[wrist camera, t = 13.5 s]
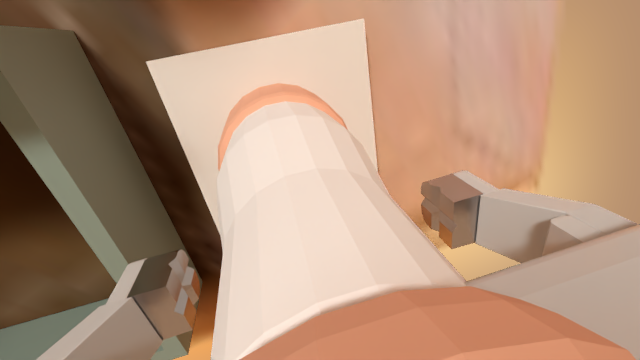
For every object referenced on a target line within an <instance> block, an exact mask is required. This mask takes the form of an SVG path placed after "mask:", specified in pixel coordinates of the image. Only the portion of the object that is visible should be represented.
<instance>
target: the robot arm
mask: <svg viewBox="0 0 640 360" xmlns="http://www.w3.org/2000/svg"><path fill="white" fill-rule="evenodd" d="M421 194H422V195H423V196H424V197H425V199H424V200H423V202H422V204H421V208H422V214H423V217H424V220H425V222H426V223H427V225H428V226H429V227H430V228H431V229H433V230H436V231H439V237H440V238H441V239H442V240H443V241H444V242H445V243H446V244H447V245H448V246H449V247H450V248H451V249H453V248H457V247H460V246H464V245H467V244H471V243H475V242H476V244H478V245H480V246H483V247H485V248H487V249H490V250H492V251H494V252H497V253H499V254H501V255H503V256H506V257H508V258H510V259H513V260H515V261H517V262H520V263H521V264H518V265H515V266H512V267H509V268H506V269H503V270H500V271H497V272H494V273H491V274H488V275H485V276H482V277H479V278H476V279H473V280H470V281H466V282H464V283H465V285H466V286H472V287H475V288H479V289H483V290H487V291H491V292H494V293H498V294H502V295H506V296H510V297H513V298H517V299H521V300H523V301H526V302H529V303H531V304H534V305H537V306H539V307H542V308H545V309H547V310H550V311H553V312H555V313H558V314H560V315H562V316H564V317H566V318H568V319H570V320H572V321H573V322H575V323H577V324H579V325H581V326H583V327H585V328H587V329H589V330H591V331H593V332H594V333H596V334H598V335H600V336H602V337H604V338H606V339H608V340H610V341H612V342H613V343H615V344H617V345H619V346H621V347H623V348H625V349H627V350H628V351H629V352H630V353H631V354H632V355H633V356H634V358H635V359H636V360H640V224H639V225H638V224H636V223H634V222H632V221H630V220H628V219H625V218H623V217H621V216H619V215H617V214H615V213H613V212H611V211H608V210H606V209H604V208H602V207H600V206H598V205H595V204H590V203H584V202H579V201H573V200H567V199H561V198H555V197H549V196H544V195H538V194H533V193H527V192H521V191H515V190H510V189H504V188H503V189H500V190H499V189H497V188H496V187H494V186H492V185H491V184H489V183H487V182H485V181H484V180H482V179H480V178H478V177H477V176H475V175H473V174H471V173H470V172H468V171H464V170H462V171H458V172H455V173H452V174H449V175H446V176H443V177H440V178H436V179H433V180H430V181H426V182H423V183H422V186H421ZM188 261H189V258H188V256H187V255H186V253H185V251H183V250H181V249H180V250H177V251H173V252H169V253H165V254H161V255H157V256H153V257H149V258H145V259H142V260H138V261H135V262H132V263H130V264H128V265H127V267H126V269H125V270H124V272H123V274H122V276H121V278H120V279H119V281H118V283H117V285H116V287H115V288H114V290H113V292H112V294H111V296H110V297H109V299H108V301H107V303H106V305H102V306H99V307H98V308H97V309H96V310H95V311H93V312H92V313H91V314H90V315H89V316H87V317H86V318H85V319H84V320H83V321H82V322H80V323H79V324H78V325H77V326H76V327H74V328H73V329H72V330H71V331H70V332H68V333H67V334H66V335H65V336H64V337H62V338H61V339H60V340H59V341H58V342H56V343H55V344H54V345H53V346H52V347H50V348H49V349H48V350H47V351H46V352H45V353H43V354H42V355H41V356H40V357H39V358H37V359H36V360H150V359H151V358H152V357H153V355H154V354H155V352H156V351H157V349H158V348H159V347H160V345H161V344H162V342H163V341H162V340H165V339H168V338H171V337H174V336H177V335H179V334H182V333H185V332H188V331H191V330H193V326H194V321H195V316H196V309H195V307H194V304H195V303H196V302H197V300H198V299H199V295H200V283H199V279H198V276H197V273H196V271H195V269H193V268H191V267H189V266H187V265H188Z"/></svg>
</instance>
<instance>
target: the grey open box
mask: <svg viewBox="0 0 640 360" xmlns="http://www.w3.org/2000/svg"><path fill="white" fill-rule="evenodd" d="M0 121H1V123H2V124H3V125H4V127H5V128H6V130H7V131H8V132H9V134H10V135H11V137H12V138H13V139H14V141H15V142H16V144H17V145H18V146H19V148H20V149H21V151H22V152H23V153H24V155H25V156H26V158H27V159H28V160H29V162H30V163H31V165H32V166H33V167H34V169H35V170H36V172H37V173H38V174H39V176H40V177H41V179H42V180H43V181H44V183H45V184H46V186H47V187H48V188H49V190H50V191H51V192H52V194H53V195H54V197H55V198H56V199H57V201H58V202H59V204H60V205H61V206H62V208H63V209H64V211H65V212H66V213H67V215H68V216H69V218H70V219H71V220H72V222H73V223H74V225H75V226H76V227H77V229H78V230H79V232H80V233H81V234H82V236H83V237H84V239H85V240H86V241H87V243H88V244H89V246H90V247H91V248H92V250H93V251H94V253H95V254H96V255H97V257H98V258H99V259H100V261H101V262H102V264H103V265H104V266H105V268H106V269H107V271H108V272H109V273H110V275H111V276H112V278H113V279H114V280H115V282H116V283H118V281H119V279H120V278H121V276H122V274H123V272H124V270H125V269H126V267H127V265H128V264H130V263H132V262H135V261H138V260H142V259H145V258H149V257H153V256H157V255H161V254H165V253H169V252H173V251H177V250H180V249H181V250H183V251H185V253H186V255H187V256H188V258H189V261H188V265H187V266H189V267H191V268H193V269H195V271H196V273H197V276H198V279H199V283H200V293H201V288H202V283H203V282H202V280H201V278H200V276H199V274H198V272H197V270H196V268H195V266H194V264H193V262H192V260H191V258H190V257H189V255H188V253H187V251H186V249H185V247H184V245H183V243H182V241H181V239H180V237H179V235H178V233H177V231H176V229H175V227H174V226H173V224H172V222H171V220H170V218H169V216H168V214H167V212H166V210H165V208H164V206H163V204H162V202H161V200H160V198H159V196H158V195H157V193H156V191H155V189H154V187H153V185H152V183H151V181H150V179H149V177H148V175H147V173H146V171H145V169H144V167H143V165H142V164H141V162H140V160H139V158H138V156H137V154H136V152H135V150H134V148H133V146H132V144H131V142H130V140H129V138H128V136H127V134H126V133H125V131H124V129H123V127H122V125H121V123H120V121H119V119H118V117H117V115H116V113H115V111H114V109H113V107H112V105H111V103H110V102H109V100H108V98H107V96H106V94H105V92H104V90H103V88H102V86H101V84H100V82H99V80H98V78H97V76H96V74H95V72H94V71H93V69H92V67H91V65H90V63H89V61H88V59H87V57H86V55H85V53H84V51H83V49H82V47H81V45H80V43H79V41H78V40H77V38H76V36H75V34H74V32H73V31H70V30H56V29H43V28H29V27H15V26H1V25H0ZM199 297H200V295H199ZM107 301H108V299H105V300H102V301H98V302H95V303H91V304H88V305H84V306H81V307H77V308H74V309H70V310H67V311H63V312H60V313H56V314H53V315H49V316H46V317H42V318H39V319H35V320H32V321H28V322H25V323H21V324H18V325H14V326H11V327H7V328H4V329H0V360H36V359H37V358H39V357H40V356H41V355H42V354H43V353H45V352H46V351H47V350H48V349H49V348H50V347H52V346H53V345H54V344H55V343H56V342H58V341H59V340H60V339H61V338H62V337H64V336H65V335H66V334H67V333H68V332H70V331H71V330H72V329H73V328H74V327H76V326H77V325H78V324H79V323H80V322H82V321H83V320H84V319H85V318H86V317H87V316H89V315H90V314H91V313H92V312H93V311H95V310H96V309H97V308H98V307H99V306H102V305H106V303H107ZM198 302H199V299H198V300H197V302H196V303H195V304H194V307H195V309H196V312H197V307H198ZM195 317H196V316H195ZM194 322H195V321H194ZM193 327H194V326H193ZM192 332H193V330H191V331H188V332H185V333H182V334H179V335H177V336H174V337H171V338H168V339H165V340H162V341H163V342H162V344H161V345H160V347H159V348H158V349H157V351H156V352H155V354H154V355H153V357H152V358H151V359H150V360H172V359H175V358H178V357H182V356H185V355H188V352H189V347H190V342H191V337H192Z"/></svg>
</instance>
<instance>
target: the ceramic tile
mask: <svg viewBox="0 0 640 360" xmlns="http://www.w3.org/2000/svg"><path fill="white" fill-rule="evenodd" d="M146 63H147V66H148V68H149V70H150V73H151V75H152V77H153V80H154V82H155V84H156V87H157V89H158V91H159V94H160V96H161V98H162V101H163V103H164V105H165V108H166V110H167V112H168V115H169V117H170V119H171V122H172V124H173V126H174V129H175V131H176V133H177V136H178V138H179V140H180V143H181V145H182V147H183V150H184V152H185V154H186V157H187V159H188V161H189V164H190V166H191V168H192V170H193V173H194V175H195V177H196V180H197V182H198V184H199V187H200V189H201V191H202V194H203V196H204V198H205V201H206V203H207V205H208V208H209V210H210V212H211V215H212V217H213V219H214V222H215V224H216V226H217V229H218V231H219V233H220V225H219V217H218V209H217V177H218V174H219V170H218V145H219V142H220V139H221V135H222V132H223V129H224V126H225V124H226V121H227V118H228V115H229V113H230V111H231V110H232V109H233V107H234V106H235V105H236V104H237V103H238V102H239V100H240V99H241V98H242V97H243V96H245V95H247V94H248V93H250V92H252V91H253V90H255V89H257V88H258V87H262V86H267V85H272V84H276V83H282V84H290V85H298V86H300V87H302V88H304V89H306V90H308V91H310V92H312V93H314V94H316V95H317V96H318V97H320V98H321V99H322V100H323V101H325V102H326V103H327V104H328V105H329V106H330V107H331V108H332V109H333V110H334V111H335V112H336V113H337V114H338V115H339V116H340V117H341V118H342V119H343V121H344V123H345V125H346V127H347V129H348V131H349V132H350V133H351V134H352V135H353V136H354V137H355V138H356V139H357V140H358V141H359V142H360V143H361V144H362V145H363V147H364V149H365V151H366V152H367V154H368V156H369V158H370V160H371V162H372V163H373V165H374V167H375V169H376V171H377V172H378V168H377V157H376V146H375V135H374V124H373V113H372V101H371V90H370V79H369V68H368V57H367V46H366V35H365V24H364V19H359V20H354V21H349V22H344V23H339V24H334V25H328V26H323V27H318V28H313V29H308V30H303V31H298V32H293V33H288V34H283V35H278V36H273V37H268V38H263V39H258V40H253V41H248V42H243V43H238V44H233V45H228V46H223V47H218V48H213V49H207V50H202V51H197V52H192V53H187V54H182V55H177V56H172V57H167V58H162V59H157V60H152V61H147V62H146ZM220 236H221V234H220Z"/></svg>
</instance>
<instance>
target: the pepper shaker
mask: <svg viewBox="0 0 640 360" xmlns="http://www.w3.org/2000/svg"><path fill="white" fill-rule="evenodd" d="M218 170H219V174H218V177H217V209H218V217H219V225H220V234H221V242H222V250H223V258H222V266H221V275H220V283H219V292H218V300H217V309H216V317H215V326H214V334H213V343H212V352H211V360H636V359H635V358H634V356H633V355H632V354H631V353H630V352H629V351H628V350H627V349H625V348H623V347H621V346H619V345H617V344H615V343H613V342H612V341H610V340H608V339H606V338H604V337H602V336H600V335H598V334H596V333H594V332H593V331H591V330H589V329H587V328H585V327H583V326H581V325H579V324H577V323H575V322H573V321H572V320H570V319H568V318H566V317H564V316H562V315H560V314H558V313H555V312H553V311H550V310H547V309H545V308H542V307H539V306H537V305H534V304H531V303H529V302H526V301H523V300H521V299H517V298H513V297H510V296H506V295H502V294H498V293H494V292H491V291H487V290H483V289H479V288H475V287H472V286H466V285H465V283H464V282H466V280H465V279H464V278H463V277H462V276H461V274H460V273H459V272H458V271H457V270H456V269H455V268H454V267H453V265H452V264H451V263H450V262H449V261H448V260H447V259H446V258H445V257H444V255H443V254H442V253H441V252H440V251H439V250H438V249H437V248H436V247H435V245H434V244H433V243H432V242H431V241H430V240H429V239H428V238H427V236H426V235H425V234H424V233H423V232H422V231H421V230H420V229H419V228H418V226H417V225H416V224H415V223H414V222H413V221H412V220H411V219H410V217H409V216H408V215H407V214H406V213H405V212H404V211H403V210H402V209H401V207H400V206H399V205H398V204H397V203H396V202H395V201H394V200H393V198H392V197H391V196H390V194H389V193H388V191H387V189H386V187H385V185H384V183H383V182H382V180H381V178H380V176H379V174H378V172H377V171H376V169H375V167H374V165H373V163H372V162H371V160H370V158H369V156H368V154H367V152H366V151H365V149H364V147H363V145H362V144H361V143H360V142H359V141H358V140H357V139H356V138H355V137H354V136H353V135H352V134H351V133H350V132H349V131H348V129H347V127H346V125H345V123H344V121H343V119H342V118H341V117H340V116H339V115H338V114H337V113H336V112H335V111H334V110H333V109H332V108H331V107H330V106H329V105H328V104H327V103H326V102H325V101H323V100H322V99H321V98H320V97H318V96H317V95H316V94H314V93H312V92H310V91H308V90H306V89H304V88H302V87H300V86H298V85H290V84H282V83H276V84H272V85H267V86H262V87H258V88H257V89H255V90H253V91H252V92H250V93H248V94H247V95H245V96H243V97H242V98H241V99H240V100H239V102H238V103H237V104H236V105H235V106H234V107H233V109H232V110H231V111H230V113H229V115H228V118H227V121H226V124H225V126H224V129H223V132H222V135H221V139H220V142H219V145H218Z"/></svg>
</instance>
